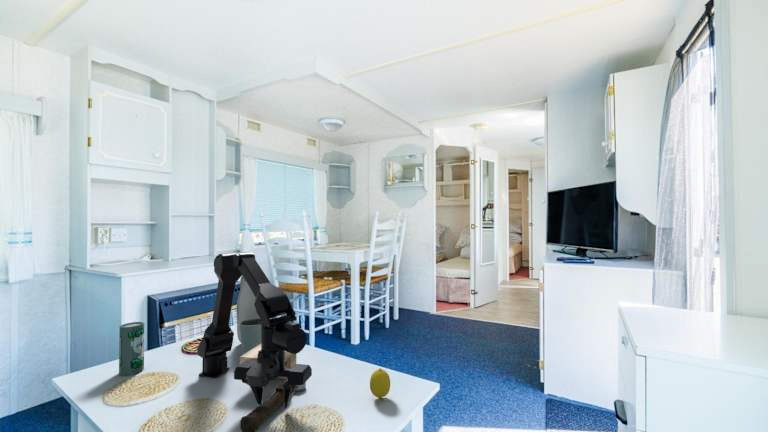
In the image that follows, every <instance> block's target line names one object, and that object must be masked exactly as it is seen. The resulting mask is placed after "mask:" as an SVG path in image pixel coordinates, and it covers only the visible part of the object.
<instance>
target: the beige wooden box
mask: <svg viewBox="0 0 768 432" xmlns="http://www.w3.org/2000/svg"><path fill="white" fill-rule="evenodd" d="M260 350H261V344H259V345H258V346H256V347H255V348H253V349H251V350H250V351H248V352H247V353H245V354H243V355H242V354H241V355H240V356H239V365H240V364H242V363H243V362H245V361H246V360H254V361H257V358H258V351H260ZM285 360H287V365H286V366H285V368H288V369H292V368H293V367H294V366H295V365H296V364H297V354H292V353H289V352H287V351H285ZM277 379H279V380H280V379H281V380H287V377H281V376H278V377H277Z"/></svg>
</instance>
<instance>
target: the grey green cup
mask: <svg viewBox="0 0 768 432" xmlns="http://www.w3.org/2000/svg"><path fill="white" fill-rule="evenodd" d="M259 320H260V318H252V319H247V320H244V321H242V322H240V333H241V340H242V341H241V342H240V344H241V353H242V354H241V356H242V355H243V354H245V353H247V352H248V351H250V350H251V349H253V348H255V347H256V346H258V345H259V344H261V325H260V324H258V321H259Z"/></svg>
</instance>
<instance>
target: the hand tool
mask: <svg viewBox="0 0 768 432" xmlns="http://www.w3.org/2000/svg"><path fill="white" fill-rule="evenodd" d="M286 382H287V379H285V380H284V381H282V382H281V383H279V384H277V386H276V387H275V389H274V390H275V391H274V392H273V393H272V394H270V395H269V396H268V397H267V398H266V399H265V400H264V401H262V403H261V404H260V405H257V406H256V407H255V409H253V410H252V411H251V412H249V413H248V414H247V415H245V416H242V417H241V419H240V422H239V423H240V424H239V425H240V430H241V432H256V430H258V429H259V427H260V425H261V424H262V423H263V422H264V421H265V420H266V419H267V418H268V417H269V416H271V415H272V413H273V412H275V411H276V410H277V409H278V408H279V406H282V405H285V388H284V387H283V385H284V384H285V383H286Z"/></svg>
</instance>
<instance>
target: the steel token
mask: <svg viewBox="0 0 768 432" xmlns="http://www.w3.org/2000/svg"><path fill="white" fill-rule="evenodd" d="M306 382H307V381H306ZM306 382H305V383H304V384H303V385H297V386H296V388H295V390H294V393H293V394H299V393H303V392H304V391H306V387H307V386H306V385H307V383H306Z"/></svg>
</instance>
